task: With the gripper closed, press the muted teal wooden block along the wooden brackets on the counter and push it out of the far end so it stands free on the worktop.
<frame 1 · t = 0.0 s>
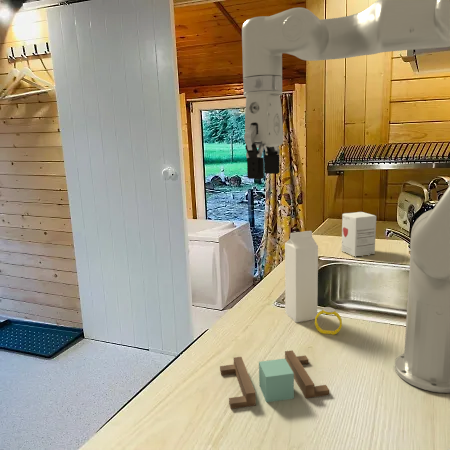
hand: (264, 175, 84), 37 cm above the worktop, tool pointing down, fingers open, 9 cm apart
milk: (301, 316, 105), on the worktop
block: (276, 392, 75), on the worktop
watch: (328, 333, 96), on the worktop
wooden brackets: (271, 382, 78), on the worktop
supplement box: (357, 253, 157), on the worktop
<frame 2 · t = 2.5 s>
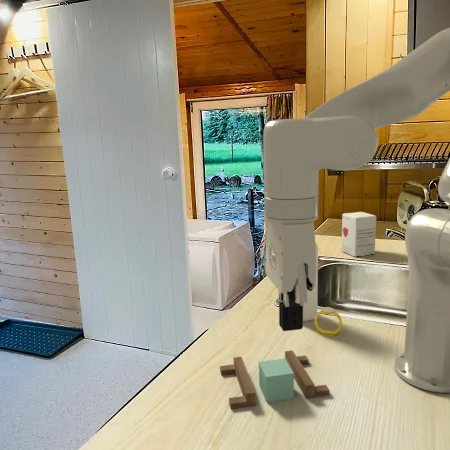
hand: (290, 327, 63), 17 cm above the worktop, tool pointing down, fingers closed
nothing on the worktop moved.
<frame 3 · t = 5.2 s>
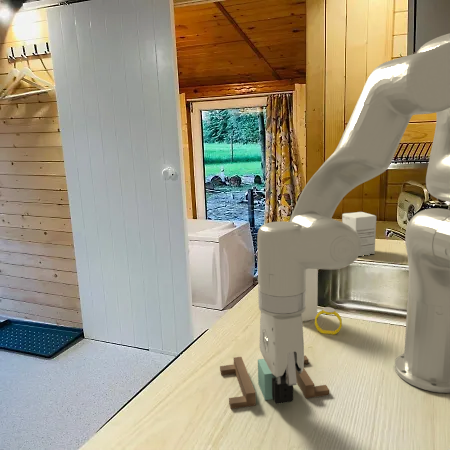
hand: (282, 399, 71), 1 cm above the worktop, tool pointing down, fingers closed
block: (274, 389, 76), on the worktop, touching gripper
everything else where it was.
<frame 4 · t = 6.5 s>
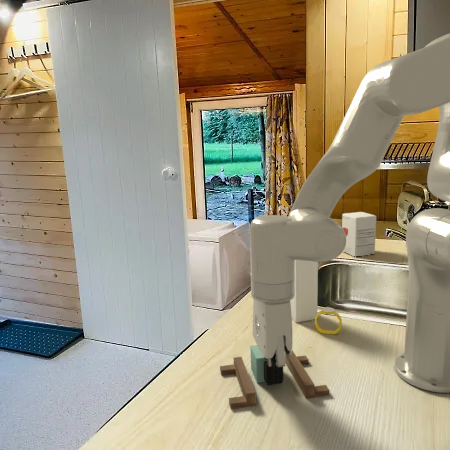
hand: (273, 381, 76), 1 cm above the worktop, tool pointing down, fingers closed
block: (266, 374, 81), on the worktop, touching gripper
everything else where it was.
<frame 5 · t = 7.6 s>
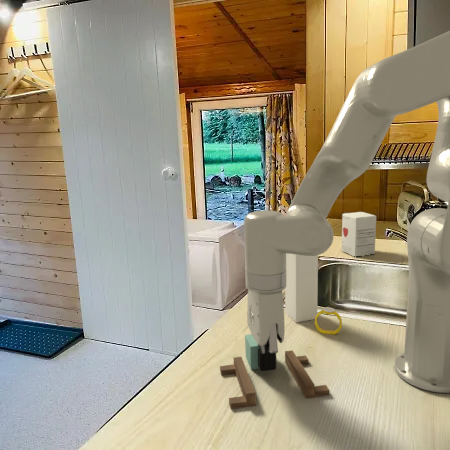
hand: (267, 368, 80), 1 cm above the worktop, tool pointing down, fingers closed
block: (260, 361, 85), on the worktop, touching gripper
everything else where it was.
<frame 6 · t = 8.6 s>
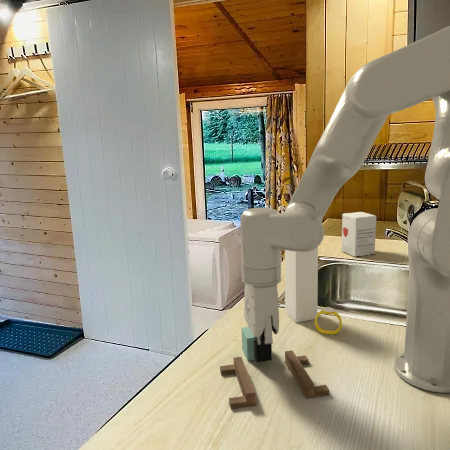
hand: (263, 359, 84), 1 cm above the worktop, tool pointing down, fingers closed
block: (256, 353, 89), on the worktop, touching gripper
everything else where it was.
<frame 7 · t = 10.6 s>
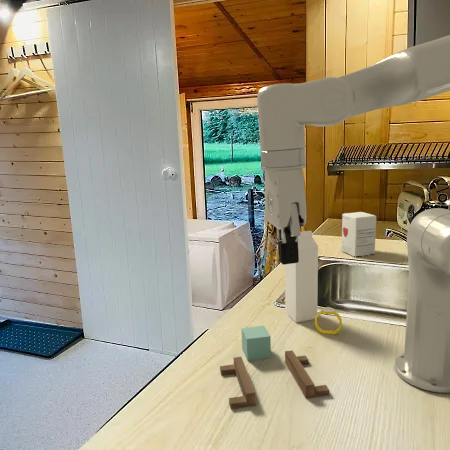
hand: (289, 262, 75), 23 cm above the worktop, tool pointing down, fingers closed
block: (256, 353, 89), on the worktop
everything else where it was.
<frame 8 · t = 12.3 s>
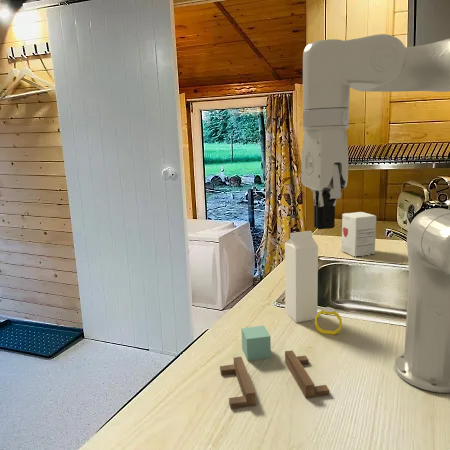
hand: (324, 227, 73), 29 cm above the worktop, tool pointing down, fingers closed
nothing on the worktop moved.
at the end: block inside the target area (2.9 cm from its centre), on the worktop; block tilted 0°; block moved 13.9 cm from its start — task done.
